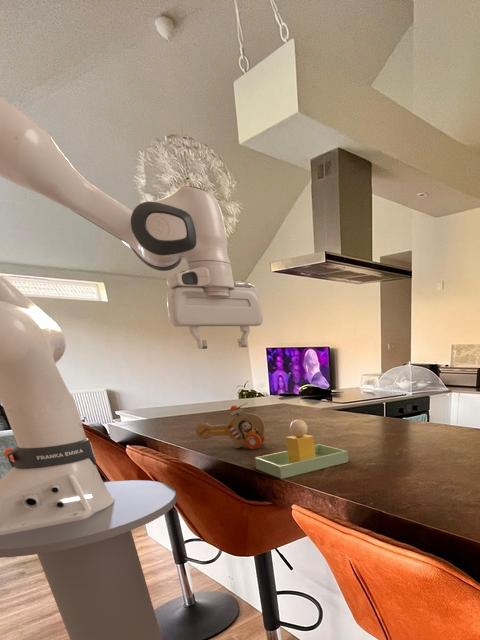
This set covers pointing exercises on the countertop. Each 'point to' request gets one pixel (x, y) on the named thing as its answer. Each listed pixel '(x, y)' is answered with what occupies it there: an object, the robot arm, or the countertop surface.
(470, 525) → the countertop surface
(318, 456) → the tray
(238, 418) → the toy helicopter
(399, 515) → the countertop surface
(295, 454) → the yellow block with ball
